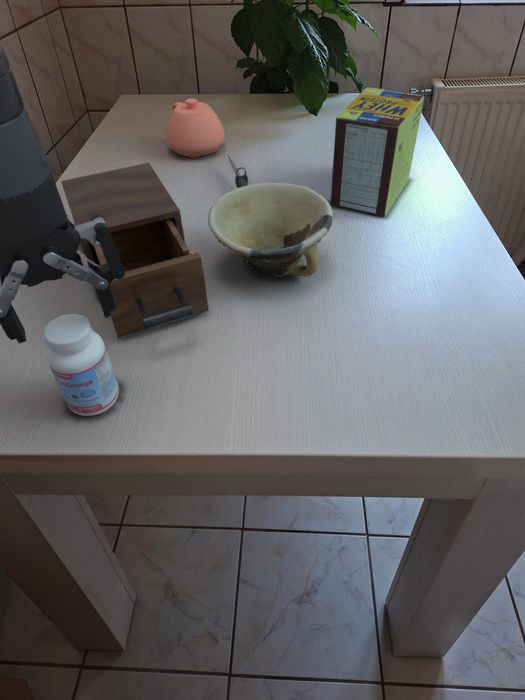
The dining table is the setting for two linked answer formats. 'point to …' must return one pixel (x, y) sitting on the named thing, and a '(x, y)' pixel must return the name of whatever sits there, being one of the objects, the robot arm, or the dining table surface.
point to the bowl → (272, 226)
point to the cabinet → (120, 200)
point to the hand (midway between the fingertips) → (65, 324)
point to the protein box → (374, 149)
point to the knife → (238, 174)
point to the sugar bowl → (194, 129)
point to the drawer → (154, 278)
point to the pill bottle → (80, 365)
